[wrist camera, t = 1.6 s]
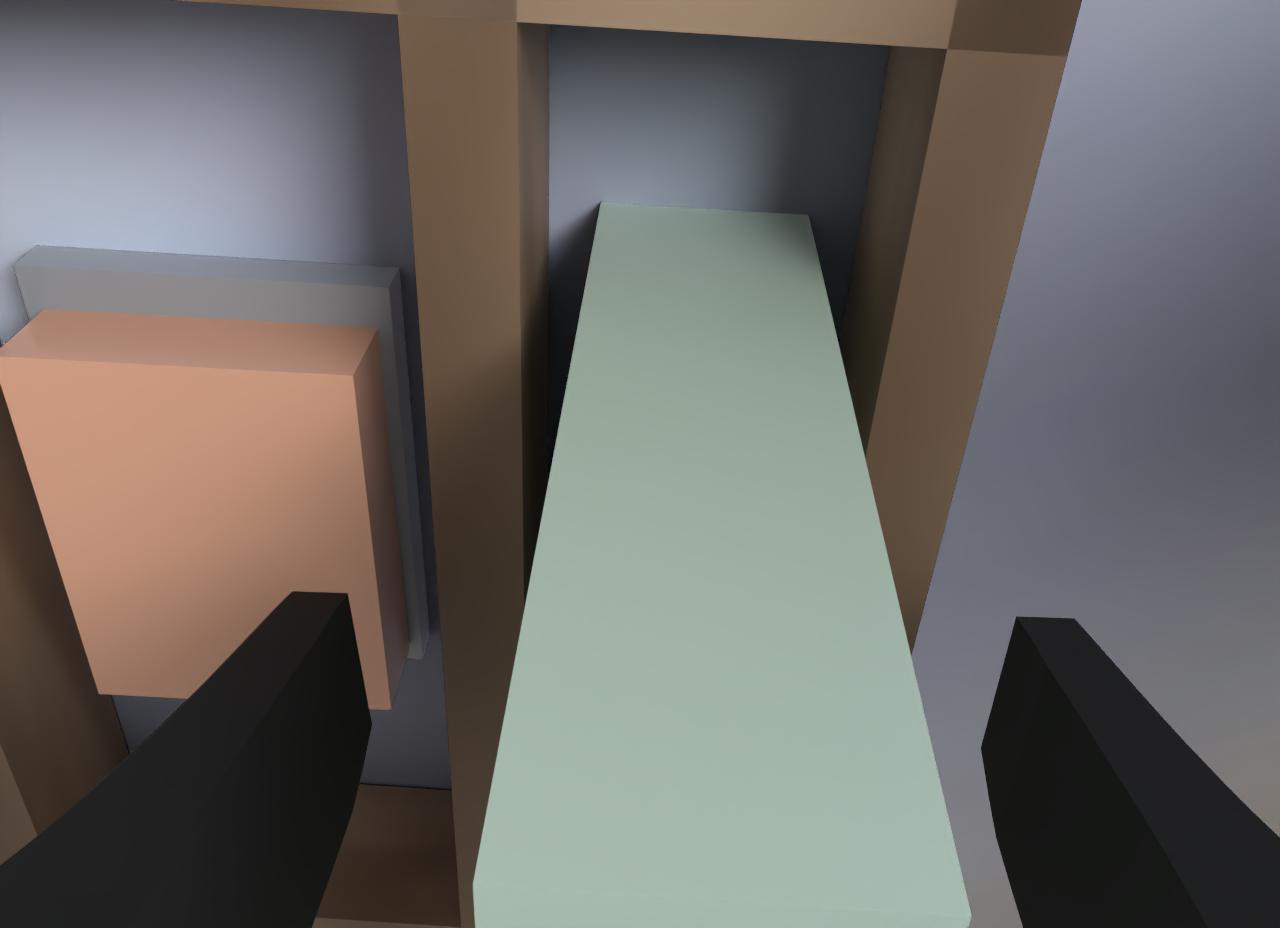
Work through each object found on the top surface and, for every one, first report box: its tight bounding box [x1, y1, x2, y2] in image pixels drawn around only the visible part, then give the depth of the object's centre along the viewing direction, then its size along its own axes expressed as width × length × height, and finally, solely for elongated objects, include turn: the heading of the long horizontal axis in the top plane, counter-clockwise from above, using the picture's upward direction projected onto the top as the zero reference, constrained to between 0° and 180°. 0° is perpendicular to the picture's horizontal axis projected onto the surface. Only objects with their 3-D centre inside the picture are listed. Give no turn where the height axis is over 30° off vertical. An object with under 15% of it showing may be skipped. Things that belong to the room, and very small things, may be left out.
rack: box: [0, 0, 1082, 928], centre depth 14 cm, size 13×15×2 cm
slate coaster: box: [13, 245, 430, 660], centre depth 15 cm, size 4×6×1 cm
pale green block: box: [473, 202, 972, 928], centre depth 11 cm, size 2×8×9 cm, turn 177°
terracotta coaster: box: [0, 309, 410, 710], centre depth 14 cm, size 4×5×1 cm
